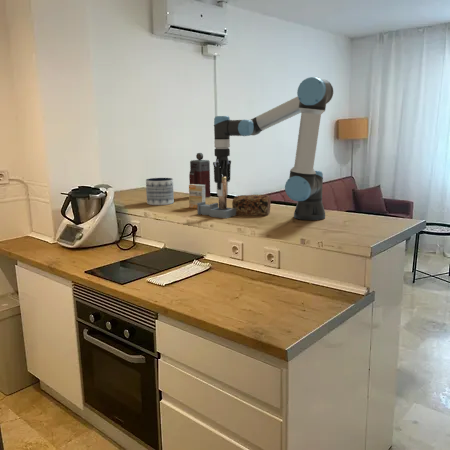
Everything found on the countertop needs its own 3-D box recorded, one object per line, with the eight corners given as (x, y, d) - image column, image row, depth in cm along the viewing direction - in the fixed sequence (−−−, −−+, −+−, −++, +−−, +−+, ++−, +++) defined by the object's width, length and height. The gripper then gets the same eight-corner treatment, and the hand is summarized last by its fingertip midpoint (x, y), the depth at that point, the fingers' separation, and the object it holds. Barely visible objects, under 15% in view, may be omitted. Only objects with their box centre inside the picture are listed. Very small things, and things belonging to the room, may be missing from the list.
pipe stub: (221, 207, 238) (221, 176, 235) (228, 208, 236) (228, 176, 233) (217, 208, 235) (216, 177, 231) (224, 209, 233) (223, 177, 229)
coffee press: (188, 197, 298) (186, 153, 292) (200, 195, 306) (199, 152, 300) (198, 198, 292) (196, 153, 286) (210, 196, 300) (209, 152, 295)
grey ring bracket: (205, 211, 247) (205, 201, 246) (236, 215, 237) (236, 203, 236) (195, 215, 239) (195, 203, 238) (226, 218, 230) (226, 206, 228)
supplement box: (188, 208, 259) (188, 184, 257) (192, 206, 264) (192, 183, 261) (202, 209, 256) (201, 185, 254) (206, 207, 261) (205, 184, 258)
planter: (179, 202, 280) (178, 178, 277) (162, 206, 267) (161, 181, 264) (158, 200, 288) (157, 177, 285) (141, 204, 275) (140, 180, 272)
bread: (270, 212, 244) (271, 193, 242) (267, 216, 234) (267, 196, 232) (236, 211, 248) (236, 192, 246) (231, 215, 238) (231, 195, 236)
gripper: (224, 147, 238) (225, 192, 243) (206, 148, 224) (207, 197, 229) (237, 147, 234) (237, 193, 239) (219, 149, 220) (219, 198, 225)
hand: (222, 195), depth 234 cm, fingers closed on pipe stub, 4 cm apart
